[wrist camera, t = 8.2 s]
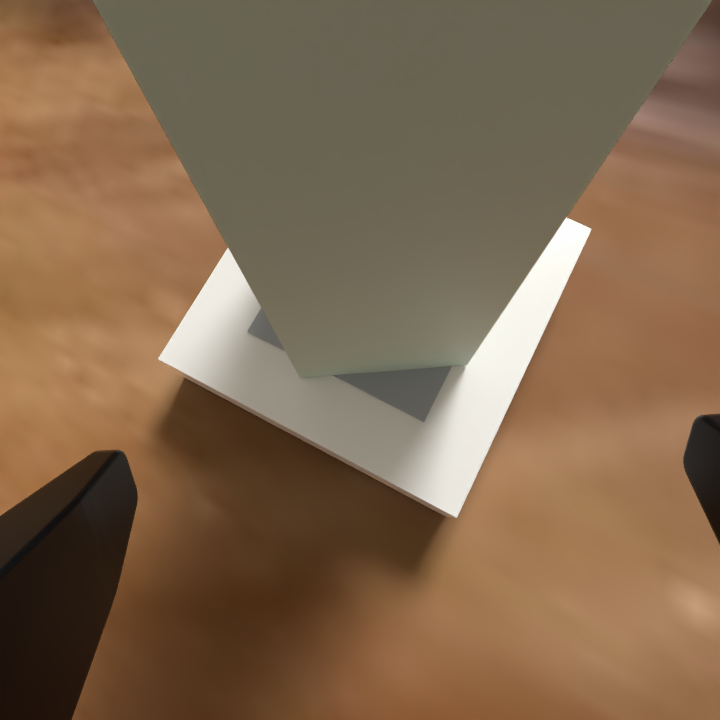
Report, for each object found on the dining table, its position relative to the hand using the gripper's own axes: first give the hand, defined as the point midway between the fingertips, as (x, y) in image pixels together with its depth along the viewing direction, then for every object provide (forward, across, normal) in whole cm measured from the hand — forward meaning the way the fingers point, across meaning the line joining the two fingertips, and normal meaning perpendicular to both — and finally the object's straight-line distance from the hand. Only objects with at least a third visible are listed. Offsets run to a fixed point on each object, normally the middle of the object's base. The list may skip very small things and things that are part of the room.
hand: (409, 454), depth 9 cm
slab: (+11, 0, +3) cm, 11 cm away
